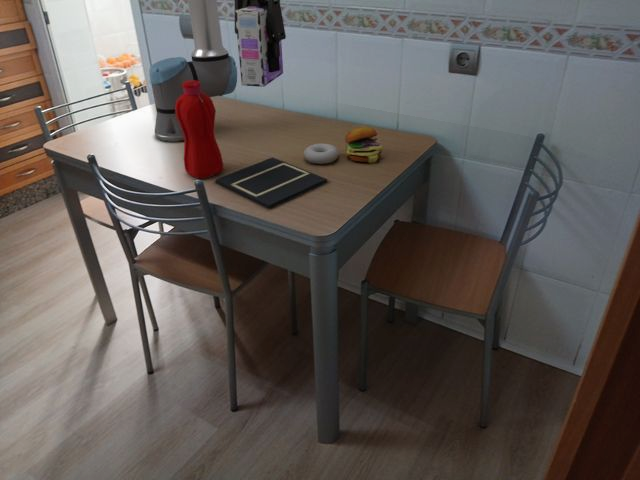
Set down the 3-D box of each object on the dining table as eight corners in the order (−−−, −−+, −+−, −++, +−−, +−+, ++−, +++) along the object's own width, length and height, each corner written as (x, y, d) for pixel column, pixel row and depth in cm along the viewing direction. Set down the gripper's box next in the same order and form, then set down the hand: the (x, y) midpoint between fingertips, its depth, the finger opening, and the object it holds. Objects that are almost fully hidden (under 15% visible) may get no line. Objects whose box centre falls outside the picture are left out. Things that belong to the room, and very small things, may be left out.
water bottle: (205, 184, 138) (190, 89, 125) (181, 173, 145) (164, 82, 131) (232, 173, 144) (220, 81, 131) (208, 162, 150) (195, 74, 137)
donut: (297, 162, 149) (327, 168, 144) (296, 151, 147) (326, 156, 143) (316, 150, 156) (345, 156, 152) (315, 139, 155) (344, 144, 150)
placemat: (215, 182, 139) (215, 179, 138) (272, 160, 151) (272, 156, 150) (269, 209, 125) (268, 205, 125) (327, 182, 137) (327, 178, 137)
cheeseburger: (359, 167, 144) (354, 131, 141) (340, 163, 153) (336, 129, 150) (389, 159, 148) (385, 124, 145) (369, 155, 157) (365, 122, 154)
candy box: (264, 87, 120) (258, 10, 111) (240, 86, 121) (233, 9, 113) (284, 73, 131) (280, 2, 123) (262, 72, 132) (257, 1, 124)
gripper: (210, -39, 117) (223, 65, 129) (271, -37, 104) (279, 78, 116) (237, -41, 121) (247, 59, 133) (298, -40, 109) (304, 71, 120)
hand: (262, 68), depth 125 cm, fingers closed on candy box, 8 cm apart
